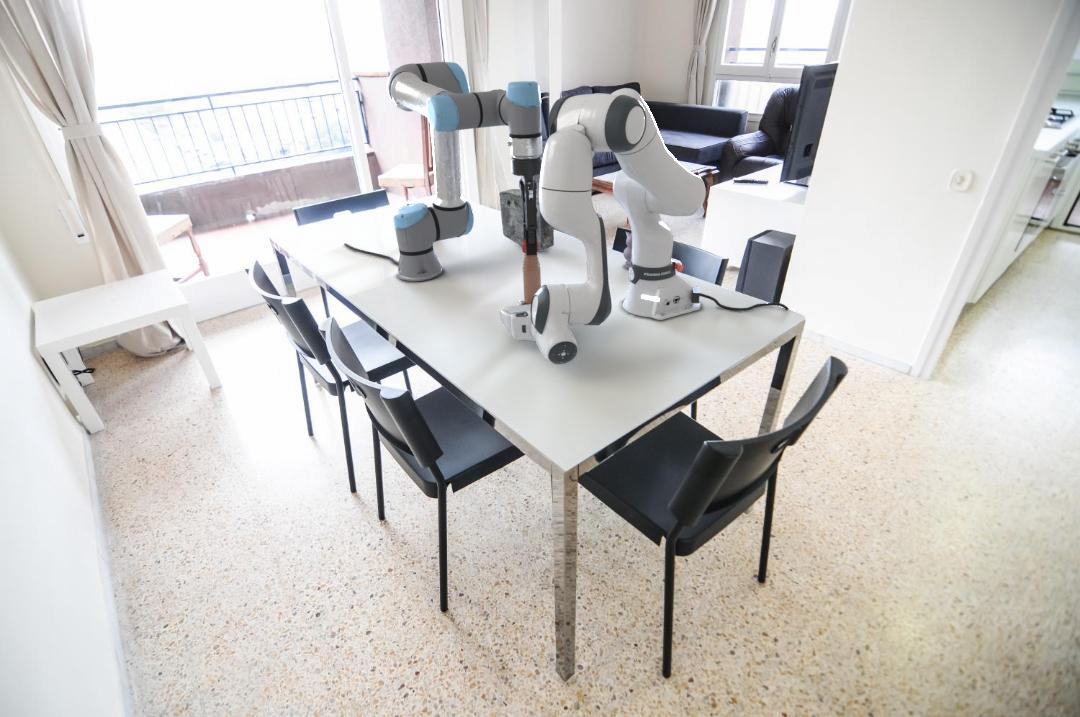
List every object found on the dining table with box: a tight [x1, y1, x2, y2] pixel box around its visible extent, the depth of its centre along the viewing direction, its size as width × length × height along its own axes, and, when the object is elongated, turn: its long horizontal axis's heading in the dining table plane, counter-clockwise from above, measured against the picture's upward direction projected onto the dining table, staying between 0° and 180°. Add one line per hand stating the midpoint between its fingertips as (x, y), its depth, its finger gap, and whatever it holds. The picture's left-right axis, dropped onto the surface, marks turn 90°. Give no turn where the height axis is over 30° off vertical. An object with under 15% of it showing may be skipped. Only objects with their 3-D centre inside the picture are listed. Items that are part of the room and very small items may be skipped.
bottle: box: [522, 253, 542, 305], centre depth 134 cm, size 5×5×24 cm
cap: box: [521, 240, 540, 254], centre depth 129 cm, size 4×4×3 cm
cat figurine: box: [622, 231, 632, 270], centre depth 172 cm, size 8×8×12 cm
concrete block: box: [498, 188, 555, 252], centre depth 192 cm, size 27×9×20 cm, turn 36°
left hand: (530, 251), depth 129 cm, fingers closed on cap, 4 cm apart
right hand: (532, 301), depth 138 cm, fingers closed on bottle, 5 cm apart
